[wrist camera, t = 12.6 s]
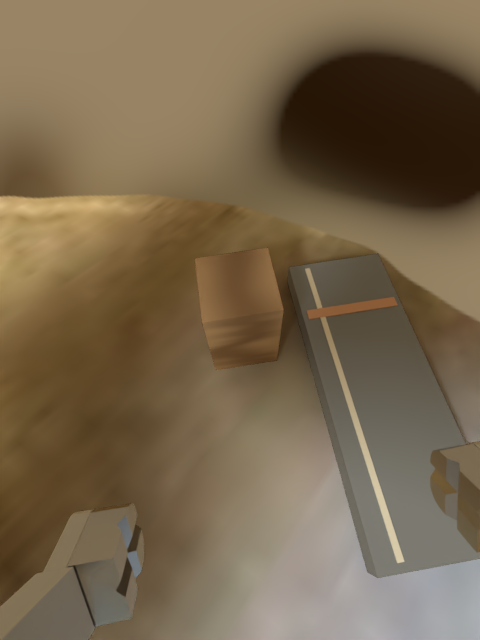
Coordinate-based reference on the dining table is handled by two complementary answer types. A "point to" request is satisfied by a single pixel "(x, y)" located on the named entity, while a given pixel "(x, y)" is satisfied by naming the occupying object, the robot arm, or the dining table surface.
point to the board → (379, 412)
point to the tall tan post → (240, 307)
